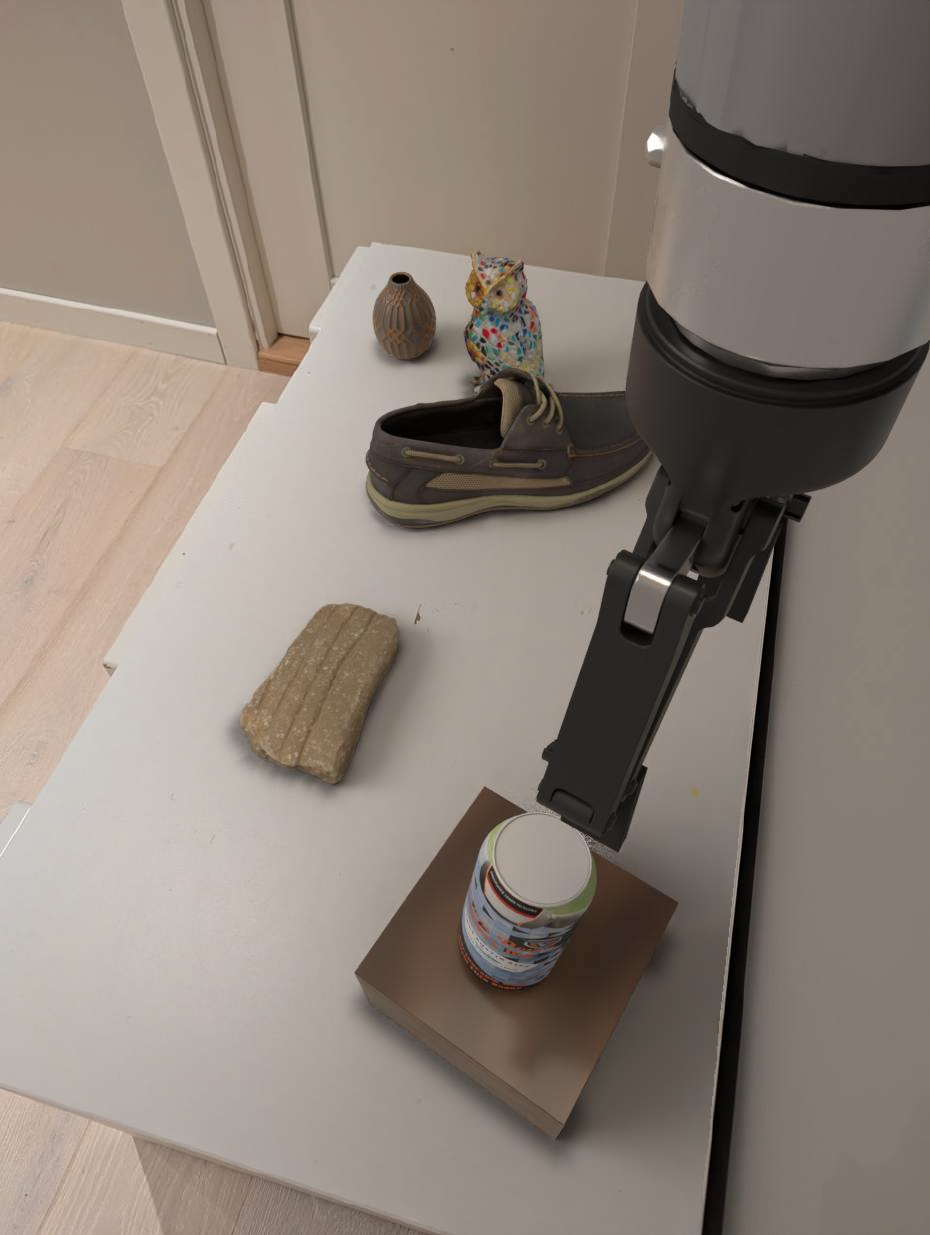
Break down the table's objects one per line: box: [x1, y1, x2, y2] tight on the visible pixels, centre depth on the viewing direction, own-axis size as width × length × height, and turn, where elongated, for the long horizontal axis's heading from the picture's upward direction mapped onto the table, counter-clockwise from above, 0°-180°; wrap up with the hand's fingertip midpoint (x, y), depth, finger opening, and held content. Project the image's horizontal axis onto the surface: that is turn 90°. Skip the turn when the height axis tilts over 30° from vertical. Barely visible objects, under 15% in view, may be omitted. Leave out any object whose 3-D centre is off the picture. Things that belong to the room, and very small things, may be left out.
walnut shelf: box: [354, 785, 680, 1141], centre depth 54 cm, size 14×14×8 cm
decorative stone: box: [239, 602, 400, 785], centre depth 69 cm, size 10×16×4 cm, turn 162°
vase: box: [372, 271, 437, 361], centre depth 93 cm, size 7×7×9 cm
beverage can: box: [457, 811, 597, 991], centre depth 46 cm, size 6×7×12 cm
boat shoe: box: [365, 368, 654, 529], centre depth 80 cm, size 11×29×11 cm, turn 110°
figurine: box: [463, 249, 545, 396], centre depth 86 cm, size 9×9×15 cm
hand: (661, 709), depth 40 cm, fingers open, 13 cm apart
